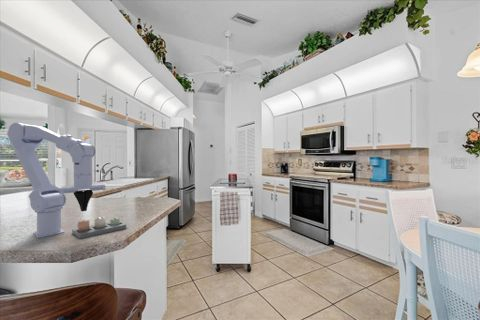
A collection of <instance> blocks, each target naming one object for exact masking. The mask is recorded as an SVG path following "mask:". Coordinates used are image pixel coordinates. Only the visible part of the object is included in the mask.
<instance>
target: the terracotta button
mask: <svg viewBox="0 0 480 320" xmlns="http://www.w3.org/2000/svg"><path fill="white" fill-rule="evenodd" d="M90 226H91V225H90V220H89V219H83V220H78V221H77V228H78V232H83V231H88V230H90Z"/></svg>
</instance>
